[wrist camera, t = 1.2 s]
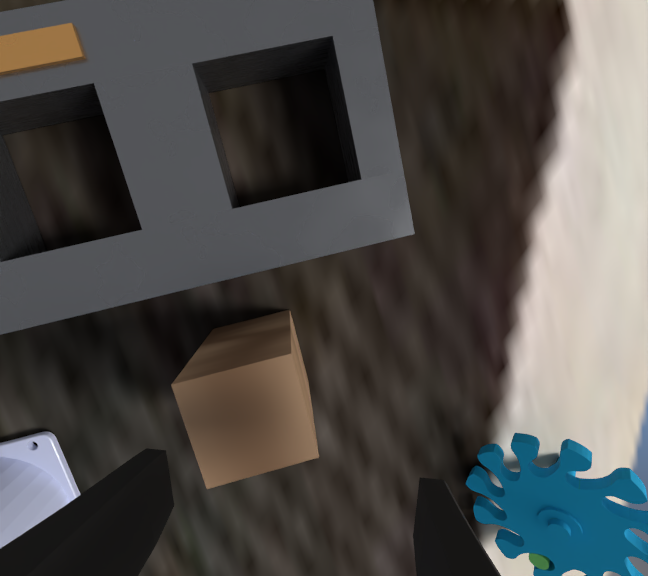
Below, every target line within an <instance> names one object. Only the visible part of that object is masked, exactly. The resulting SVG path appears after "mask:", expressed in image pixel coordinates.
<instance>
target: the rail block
mask: <svg viewBox="0 0 648 576" xmlns="http://www.w3.org/2000/svg"><path fill="white" fill-rule="evenodd" d="M324 69H325V73H326V78H327V83H328V87H329V92H330V97H331V102H332V106H333V111H334V116H335V121H336V126H337V130H338V135H339V140H340V145H341V149H342V154H343V159H344V164H345V169H346V173H347V178H348V183H344V184H339V185H335V186H331V187H326V188H322V189H318V190H313V191H309V192H304V193H300V194H296V195H291V196H287V197H283V198H278V199H274V200H269V201H265V202H261V203H256V204H252V205H248V206H243V207H240V206H239V203H238V199H237V195H236V192H235V188H234V184H233V181H232V177H231V173H230V170H229V166H228V162H227V159H226V155H225V151H224V148H223V144H222V140H221V137H220V133H219V129H218V126H217V122H216V118H215V115H214V111H213V107H212V104H211V100H210V96H209V93H211V92H216V91H221V90H226V89H231V88H236V87H240V86H245V85H250V84H255V83H260V82H265V81H270V80H275V79H280V78H284V77H289V76H294V75H299V74H304V73H309V72H314V71H319V70H324ZM99 115H104V116H105V119H106V122H107V125H108V128H109V131H110V134H111V137H112V140H113V143H114V146H115V149H116V152H117V155H118V158H119V161H120V164H121V167H122V170H123V173H124V176H125V179H126V182H127V185H128V188H129V191H130V194H131V197H132V200H133V203H134V206H135V209H136V213H137V216H138V219H139V222H140V225H141V228H142V230H139V231H134V232H130V233H125V234H121V235H117V236H112V237H108V238H104V239H99V240H95V241H90V242H86V243H82V244H77V245H73V246H69V247H64V248H60V249H56V250H51V251H47V249H46V246H45V244H44V241H43V239H42V236H41V234H40V231H39V228H38V226H37V223H36V221H35V218H34V216H33V213H32V210H31V208H30V205H29V203H28V200H27V198H26V195H25V192H24V190H23V187H22V185H21V182H20V180H19V177H18V174H17V172H16V169H15V167H14V164H13V162H12V159H11V156H10V154H9V151H8V149H7V146H6V144H5V141H4V138H3V136H2V135H6V134H11V133H16V132H21V131H25V130H30V129H35V128H40V127H45V126H50V125H55V124H60V123H65V122H69V121H74V120H79V119H84V118H89V117H94V116H99ZM412 234H414V228H413V222H412V217H411V211H410V205H409V200H408V194H407V189H406V183H405V177H404V172H403V166H402V161H401V155H400V149H399V144H398V138H397V132H396V127H395V121H394V116H393V110H392V104H391V99H390V93H389V88H388V82H387V76H386V71H385V65H384V59H383V54H382V48H381V43H380V37H379V31H378V26H377V20H376V15H375V9H374V3H373V0H65V1H60V2H54V3H48V4H43V5H37V6H32V7H26V8H21V9H15V10H10V11H4V12H0V335H1V334H5V333H9V332H13V331H17V330H21V329H26V328H30V327H34V326H38V325H42V324H46V323H50V322H54V321H59V320H63V319H67V318H71V317H75V316H79V315H83V314H87V313H91V312H96V311H100V310H104V309H108V308H112V307H116V306H120V305H124V304H128V303H133V302H137V301H141V300H145V299H149V298H153V297H157V296H161V295H165V294H170V293H174V292H178V291H182V290H186V289H190V288H194V287H198V286H202V285H207V284H211V283H215V282H219V281H223V280H227V279H231V278H235V277H240V276H244V275H248V274H252V273H256V272H260V271H264V270H268V269H272V268H277V267H281V266H285V265H289V264H293V263H297V262H301V261H305V260H309V259H314V258H318V257H322V256H326V255H330V254H334V253H338V252H342V251H346V250H351V249H355V248H359V247H363V246H367V245H371V244H375V243H379V242H384V241H388V240H392V239H396V238H400V237H404V236H408V235H412Z"/></svg>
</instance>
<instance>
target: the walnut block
mask: <svg viewBox="0 0 648 576" xmlns="http://www.w3.org/2000/svg"><path fill="white" fill-rule="evenodd" d="M171 386H172V389H173V392H174V395H175V398H176V400H177V403H178V406H179V409H180V412H181V415H182V418H183V421H184V424H185V427H186V429H187V432H188V435H189V438H190V441H191V444H192V447H193V450H194V453H195V456H196V458H197V461H198V464H199V467H200V470H201V473H202V476H203V479H204V482H205V485H206V487H207V489H209V488H213V487H216V486H220V485H223V484H227V483H230V482H234V481H237V480H241V479H244V478H248V477H251V476H255V475H258V474H262V473H265V472H269V471H272V470H276V469H279V468H283V467H286V466H290V465H294V464H297V463H301V462H304V461H308V460H311V459H315V458H318V457H319V454H318V447H317V440H316V433H315V426H314V419H313V412H312V405H311V398H310V391H309V384H308V378H307V374H306V370H305V366H304V363H303V359H302V355H301V351H300V347H299V343H298V339H297V336H296V332H295V328H294V324H293V320H292V316H291V312H290V310H286V311H282V312H278V313H274V314H270V315H266V316H263V317H259V318H255V319H251V320H247V321H243V322H239V323H235V324H231V325H227V326H223V327H219V328H215V329H213V330H212V331H211V333H210V334H209V335H208V337H207V338H206V339H205V341H204V342H203V343H202V345H201V346H200V347H199V349H198V350H197V351H196V353H195V354H194V355H193V357H192V358H191V359H190V360H189V362H188V363H187V364H186V366H185V367H184V368H183V370H182V371H181V372H180V374H179V375H178V376H177V378H176V379H175V380H174V382H173V383H172V384H171Z"/></svg>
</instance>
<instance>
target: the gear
mask: <svg viewBox="0 0 648 576" xmlns="http://www.w3.org/2000/svg"><path fill="white" fill-rule="evenodd" d="M539 446H540V443H539V440H538V439H537V437H534V436H531V435H528V434H520V433H515V434H514V436H513V439H512V442H511V449H512V451H513V452H514V454H515V455H516V457H517V458H518V460H519V463H520V468H521V471H520V472H512V471H510V470H508V469H507V468H506V467H505V466H504V464H503V457H504V453H503V450H502V449H501V447H500V446H499V445H497V444H488V445H485V446H483V447H481V449H480V451H479V453H478V459H479V461H480V462H481V463H482V464H483V465H484V466H485V467H487V468H488V469H489V470H490V471H492V472H493V473H494V474H495V476H496V477H497V478H498V479H499V481H500V483H501V485H502V487H503V488H500V487H497V486H496V485H494V484H493V483H492V482H491V480H490V478H489V476H488V474H487V472H486V471H485V470H484V469H483V468H481V467H479V466H475V467H473V468H472V470H471V472H470V474H469V477H468V479H467V481H466V485H467V486H468V487H469V488H470V489H471V490H473V491H475V492H478V493H481V494H483V495H485V496H487V497H488V498H490V499H491V500H493V501H494V502H495V503H496V504H498V505H499V506H500V507H501V508H502V509H503V510H504V511H503V510H500V509H498V508H497V507H496V506H495V505H493V504H492V503H491V502H490V501H489V500H488V499H486V498H484V497H481V496H477V499H476V501H475V504H474V507H473V511H474V515H475V518H476V520H477V521H478V522H480V523H483V524H496V525H500V526H503V527H505V528H508V529H510V530H511V531H513V532H515V533H517V534H519V535H520V536H519V535H516V534H515V533H513V532H511V531H509V530H506V529H500V530H498V533H497V536H496V540H495V542H496V544H497V546H498V548H499V549H500V550H501V552H502V553H503V554H504V555H505V556H506V557H507V558H511V559H514V558H516V557H517V556H518V555H520V554H523V553H529V560H530V562H531V563H532V564H533V565H534V572H533V575H534V576H562V574H563V573H565V572H567V571H570V570H579V571H582V572H584V573H585V574H586V575H585V576H603V574H604V572H606V571H612V572H615V573H618V574H619V575H621V576H644V575H642V574H641V573H640V572H639V571H638V570H637V569H636V568H635V567H634V566H633V565H632V563H631V562H630V560H629V559H628V557H629V556H633V557H637V558H640V559H642V560H644V561H645V562H647V563H648V543H647V542H645V541H643V540H642V539H641V538H639V537H638V536H637V535H635V534H634V533H633V532H632V531H631V530H630V529H629V528H636V529H639V530H641V531H643V532H645V533H647V534H648V511H641V510H635V509H631V508H628V507H625V506H622V505H620V504H617V503H615V502H613V501H611V500H609V499H607V498H606V497H605V496H614V497H617V498H619V499H622V500H624V501H627V502H630V503H634V504H643V503H645V502H647V494H646V488H645V486H644V484H643V482H642V481H641V480H640V478H639V477H638V476H637V475H636V474H635V473H634V472H633V471H632V470H631V469H629V468H618V469H616V470H614V471H613V472H612V473H611V474H610V475H608V476H606V477H603V478H598V479H581V478H577V477H575V475H576V471H587V470H588V469H590V468H591V465H592V452H591V451H589V450H588V449H587V448H585V447H584V446H582V445H581V444H579V443H577V442H575V441H572V440H570V439H566V440H564V441H563V442H562V445H561V451H560V457H559V458H558V461H557V462H556V463H555V464H553V465H552V466H550V467H548V468H541V467H538V466H536V465H535V464H534V463H533V462H532V460H534V459H535V458H536V457H537V455H538V450H539Z"/></svg>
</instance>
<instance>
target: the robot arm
mask: <svg viewBox="0 0 648 576" xmlns="http://www.w3.org/2000/svg"><path fill="white" fill-rule="evenodd" d="M33 442H36V443H37V444H38V446H36V445H34V443H33ZM173 507H174V501H173V495H172V488H171V481H170V475H169V468H168V462H167V455H166V451H165V450H155V449H145V450H143V451H142V452H140V453H139V454H137V455H136V456H135V457H133V458H132V459H130V460H129V461H127V462H126V463H125V464H123V465H122V466H120V467H119V468H118V469H116V470H115V471H113V472H112V473H111V474H109V475H108V476H106V477H105V478H104V479H102V480H101V481H99V482H98V483H97V484H95V485H94V486H92V487H91V488H89V489H88V490H87V491H85V492H84V493H82V494H81V495H80V492H79V490H78V488H77V485H76V483H75V481H74V478H73V476H72V474H71V471H70V469H69V467H68V464H67V462H66V460H65V457H64V455H63V453H62V450H61V448H60V446H59V443H58V441H57V439H56V437H55V435H54V434H53V433H51V432H47V431H46V432H40V433H36V434H33V435H29V436H25V437H21V438H17V439H14V440H10V441H6V442H2V443H0V576H138V575H139V573H140V571H141V569H142V568H143V566H144V564H145V563H146V561H147V559H148V558H149V556H150V554H151V552H152V551H153V549H154V547H155V545H156V543H157V541H158V539H159V537H160V535H161V533H162V531H163V529H164V527H165V525H166V522H167V520H168V518H169V516H170V513H171V511H172V509H173ZM413 538H414V550H415V562H416V572H417V576H501V575H500V573H499V572H498V570H497V569H496V567H495V565H494V564H493V562H492V561H491V559H490V558H489V556H488V554H487V553H486V551H485V550H484V548H483V546H482V545H481V543H480V542H479V540H478V538H477V537H476V535H475V533H474V531H473V530H472V528H471V526H470V525H469V523H468V521H467V519H466V518H465V516H464V514H463V512H462V511H461V509H460V507H459V505H458V503H457V502H456V500H455V498H454V496H453V494H452V492H451V490H450V488H449V487H448V485H447V483H446V482H445V481H444V480H437V479H428V478H420V481H419V490H418V499H417V507H416V516H415V525H414V533H413Z"/></svg>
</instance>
